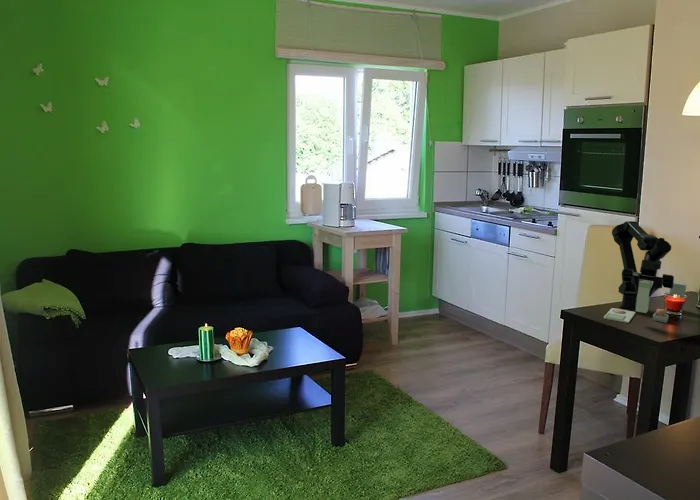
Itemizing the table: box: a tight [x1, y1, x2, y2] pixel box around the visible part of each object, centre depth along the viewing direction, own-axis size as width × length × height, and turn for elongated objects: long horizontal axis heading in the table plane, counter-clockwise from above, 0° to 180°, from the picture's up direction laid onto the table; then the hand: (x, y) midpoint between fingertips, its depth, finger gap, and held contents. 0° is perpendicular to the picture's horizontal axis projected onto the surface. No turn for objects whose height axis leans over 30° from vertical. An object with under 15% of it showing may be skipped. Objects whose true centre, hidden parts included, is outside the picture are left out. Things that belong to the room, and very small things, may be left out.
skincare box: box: [667, 281, 687, 298], centre depth 269 cm, size 6×4×12 cm
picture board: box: [602, 307, 637, 324], centre depth 257 cm, size 18×10×1 cm, turn 147°
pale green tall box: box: [634, 280, 653, 314], centre depth 244 cm, size 4×4×12 cm
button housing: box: [652, 312, 669, 324], centre depth 253 cm, size 5×5×2 cm
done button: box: [655, 308, 667, 316], centre depth 253 cm, size 4×4×2 cm
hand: (643, 295), depth 243 cm, fingers closed on pale green tall box, 4 cm apart
